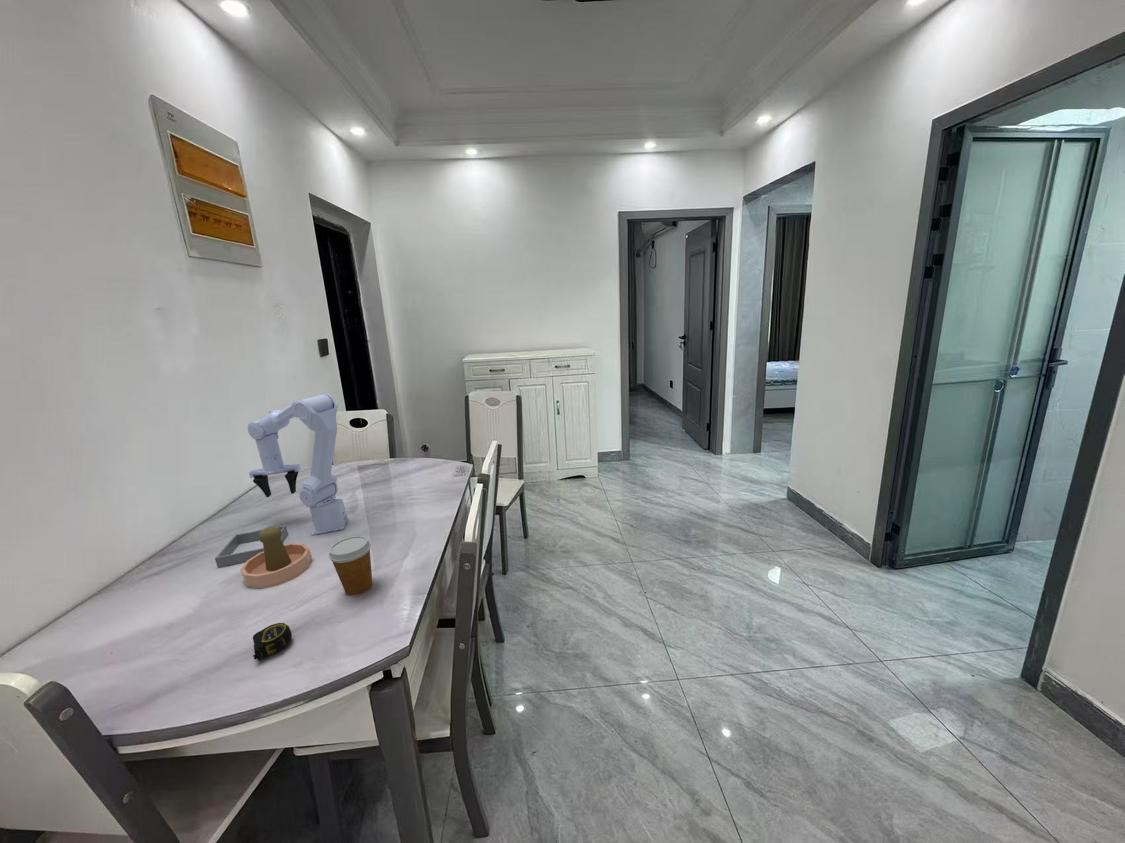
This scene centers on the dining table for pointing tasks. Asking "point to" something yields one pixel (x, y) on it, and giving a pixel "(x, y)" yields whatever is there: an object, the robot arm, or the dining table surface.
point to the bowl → (261, 578)
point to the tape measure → (271, 640)
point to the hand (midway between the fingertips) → (281, 494)
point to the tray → (228, 558)
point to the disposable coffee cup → (352, 564)
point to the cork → (274, 549)
